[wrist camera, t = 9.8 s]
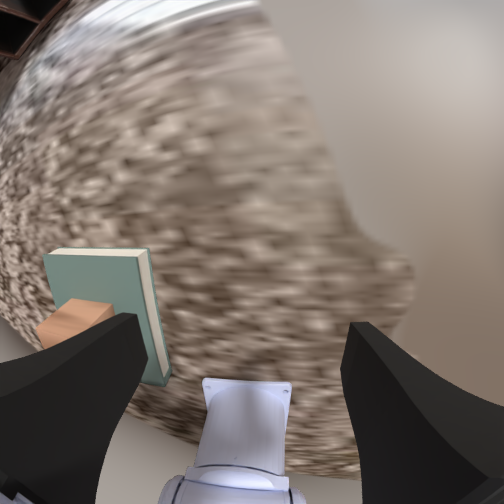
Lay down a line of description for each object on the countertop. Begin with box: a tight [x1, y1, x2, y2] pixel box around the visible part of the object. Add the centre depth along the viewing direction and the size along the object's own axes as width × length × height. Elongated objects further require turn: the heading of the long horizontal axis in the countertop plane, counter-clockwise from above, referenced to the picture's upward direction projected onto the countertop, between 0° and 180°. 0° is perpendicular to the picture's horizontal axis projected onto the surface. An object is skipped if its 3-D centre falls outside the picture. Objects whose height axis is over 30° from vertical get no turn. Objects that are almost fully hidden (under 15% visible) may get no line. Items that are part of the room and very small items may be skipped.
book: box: [42, 247, 172, 387], centre depth 20 cm, size 12×10×2 cm
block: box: [36, 298, 115, 350], centre depth 17 cm, size 4×4×5 cm
